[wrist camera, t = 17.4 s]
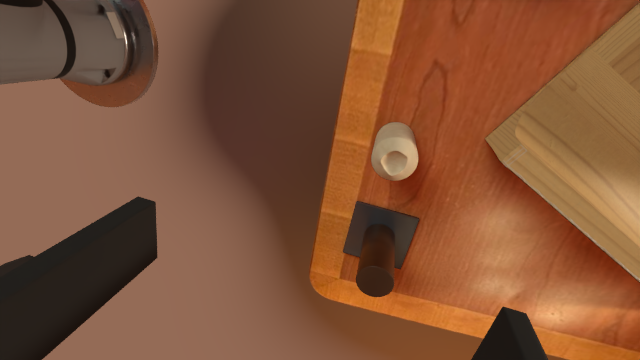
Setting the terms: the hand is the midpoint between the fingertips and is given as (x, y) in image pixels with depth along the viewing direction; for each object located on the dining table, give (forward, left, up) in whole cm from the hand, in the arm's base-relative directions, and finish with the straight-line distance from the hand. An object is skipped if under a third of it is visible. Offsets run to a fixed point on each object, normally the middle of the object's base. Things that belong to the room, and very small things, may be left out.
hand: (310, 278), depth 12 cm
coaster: (+6, -20, -37) cm, 42 cm away
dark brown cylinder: (+6, -20, -36) cm, 42 cm away
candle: (+4, -4, -37) cm, 37 cm away
